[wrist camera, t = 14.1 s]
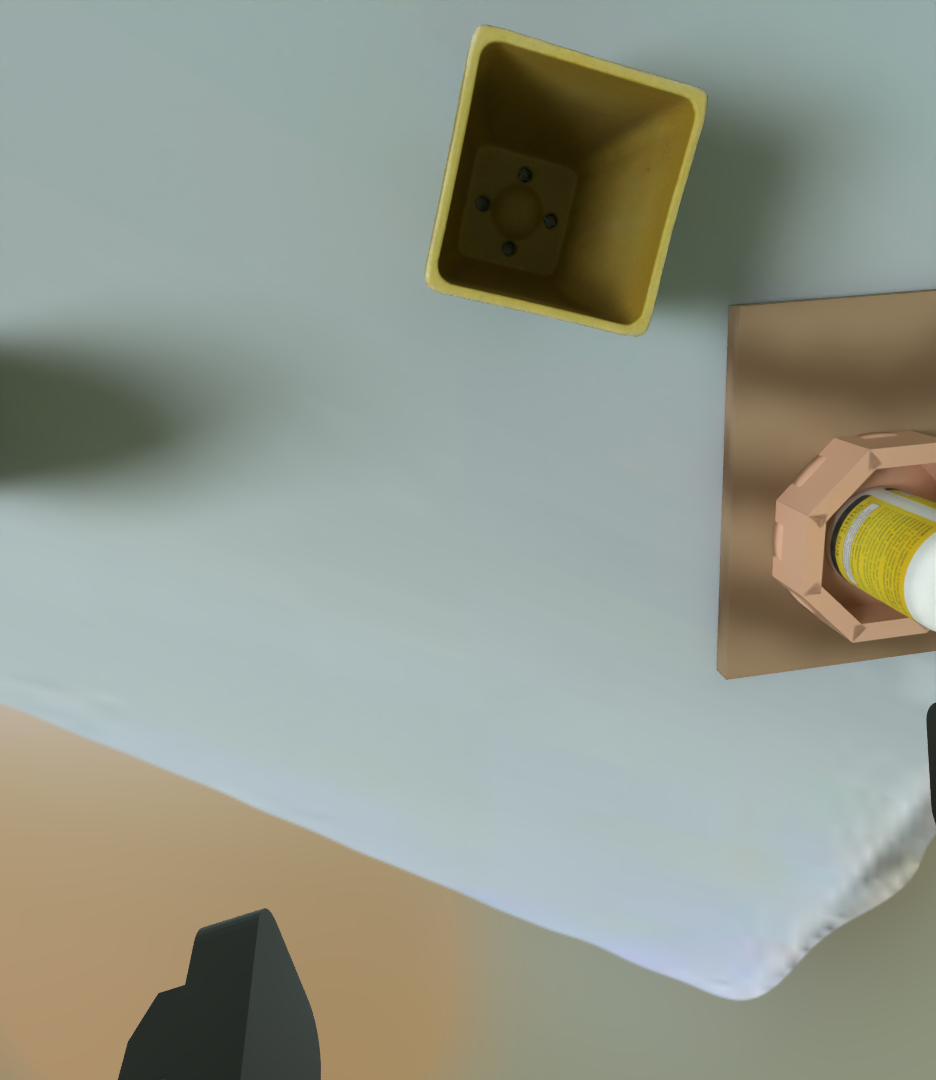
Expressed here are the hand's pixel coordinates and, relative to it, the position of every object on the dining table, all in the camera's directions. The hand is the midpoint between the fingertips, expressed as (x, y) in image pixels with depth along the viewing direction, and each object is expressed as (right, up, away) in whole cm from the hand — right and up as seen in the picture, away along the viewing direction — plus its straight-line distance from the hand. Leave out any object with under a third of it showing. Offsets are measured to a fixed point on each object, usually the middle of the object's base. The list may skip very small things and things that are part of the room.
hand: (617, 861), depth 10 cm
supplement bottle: (+19, +4, +34) cm, 39 cm away
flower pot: (0, +19, +28) cm, 34 cm away
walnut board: (+19, +7, +35) cm, 40 cm away
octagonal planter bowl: (+19, +4, +35) cm, 40 cm away
